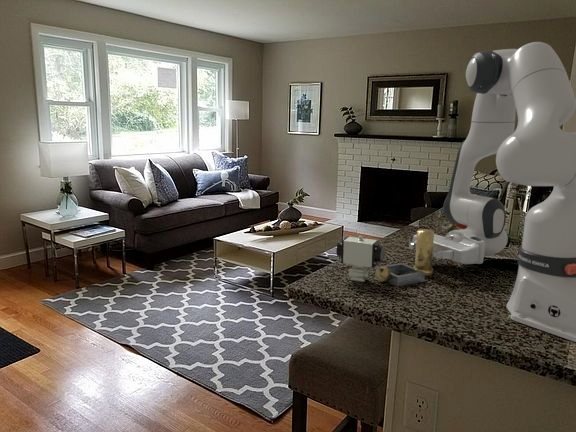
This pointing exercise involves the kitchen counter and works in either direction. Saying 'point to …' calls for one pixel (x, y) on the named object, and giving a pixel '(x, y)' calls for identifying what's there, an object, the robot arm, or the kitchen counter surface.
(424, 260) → the pipe fitting
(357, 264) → the pneumatic valve
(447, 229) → the onion
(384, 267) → the grey rectangular tray
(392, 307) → the kitchen counter surface
